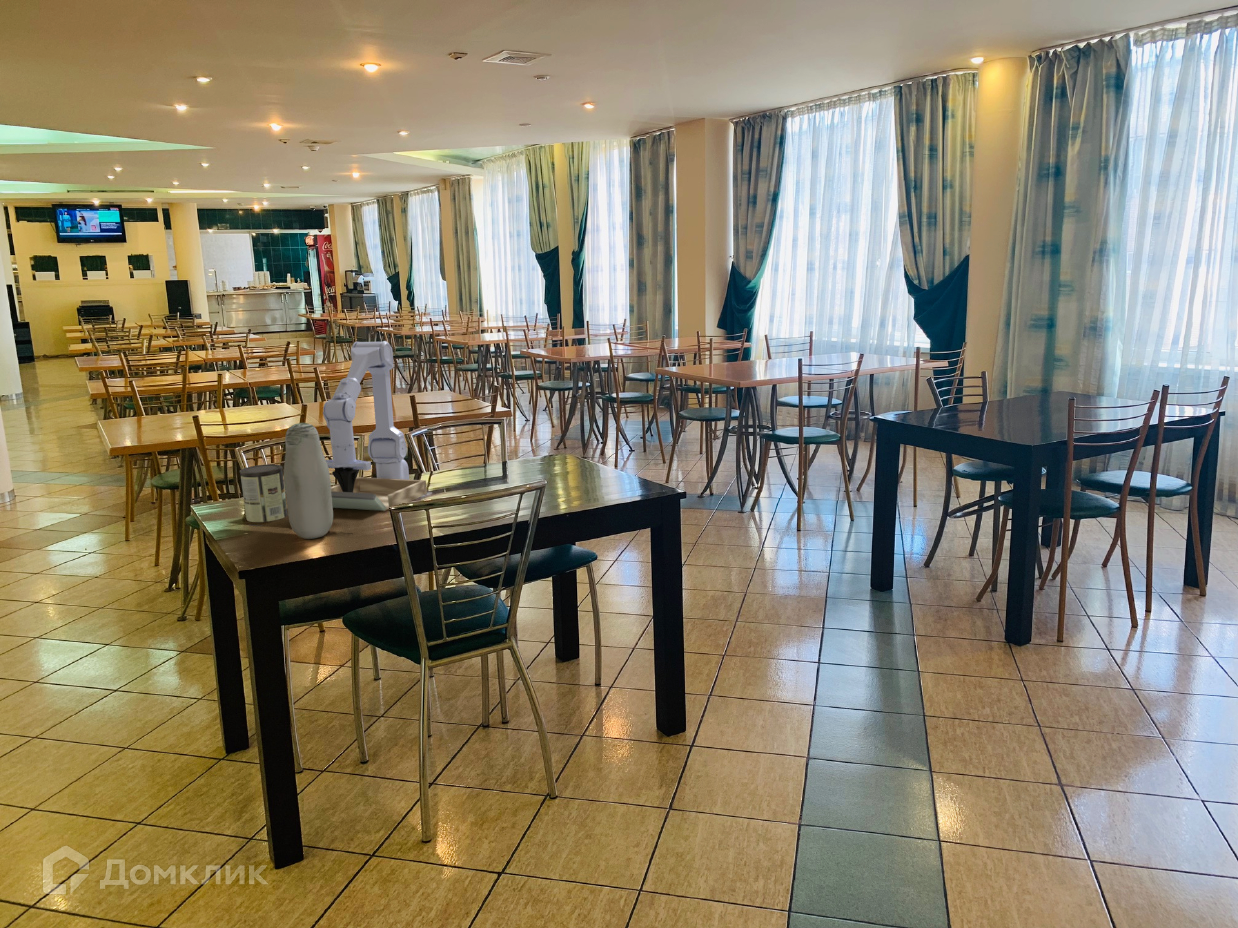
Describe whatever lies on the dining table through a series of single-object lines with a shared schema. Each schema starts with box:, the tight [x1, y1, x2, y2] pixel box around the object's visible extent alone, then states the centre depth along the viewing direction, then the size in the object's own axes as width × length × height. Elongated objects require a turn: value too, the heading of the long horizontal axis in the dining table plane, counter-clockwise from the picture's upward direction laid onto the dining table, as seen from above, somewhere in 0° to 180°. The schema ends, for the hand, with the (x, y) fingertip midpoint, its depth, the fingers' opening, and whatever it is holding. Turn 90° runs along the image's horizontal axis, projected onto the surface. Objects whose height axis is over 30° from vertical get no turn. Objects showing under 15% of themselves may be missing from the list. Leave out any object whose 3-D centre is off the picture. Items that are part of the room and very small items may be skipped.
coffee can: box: [239, 463, 288, 527], centre depth 230 cm, size 10×10×14 cm
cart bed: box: [331, 476, 428, 510], centre depth 246 cm, size 17×22×5 cm
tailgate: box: [331, 491, 387, 512], centre depth 234 cm, size 1×19×7 cm
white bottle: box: [283, 422, 334, 540], centre depth 212 cm, size 10×10×28 cm
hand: (348, 495), depth 234 cm, fingers closed, pressing on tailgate
